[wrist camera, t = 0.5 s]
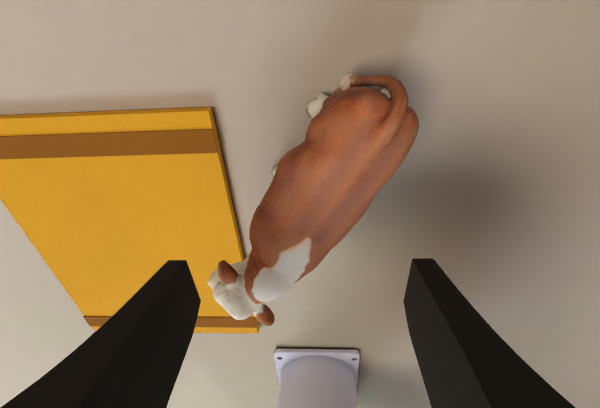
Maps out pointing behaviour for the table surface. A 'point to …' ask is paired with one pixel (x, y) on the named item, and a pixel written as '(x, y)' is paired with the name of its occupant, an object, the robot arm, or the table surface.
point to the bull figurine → (319, 191)
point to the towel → (123, 203)
